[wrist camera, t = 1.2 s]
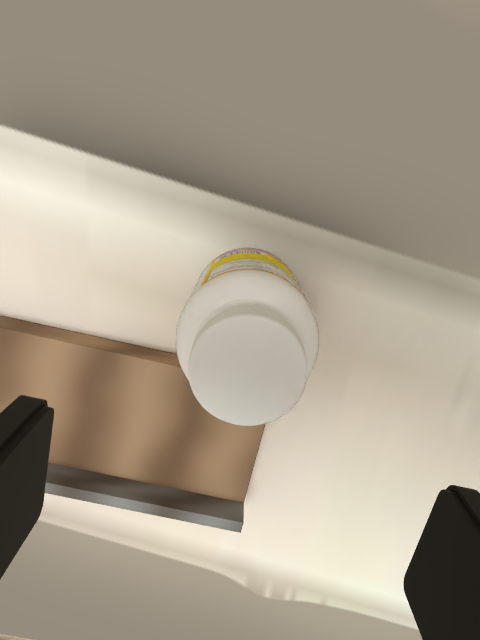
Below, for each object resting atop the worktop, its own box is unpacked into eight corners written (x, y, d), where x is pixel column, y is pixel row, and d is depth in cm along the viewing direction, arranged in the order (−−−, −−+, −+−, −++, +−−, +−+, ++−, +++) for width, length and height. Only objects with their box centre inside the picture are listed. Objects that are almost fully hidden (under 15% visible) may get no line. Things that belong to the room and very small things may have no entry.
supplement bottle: (253, 363, 31) (256, 479, 19) (176, 303, 30) (126, 384, 18) (319, 290, 30) (369, 363, 17) (240, 224, 29) (234, 252, 16)
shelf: (273, 375, 31) (276, 401, 28) (240, 495, 34) (239, 534, 30) (-48, 305, 30) (-91, 322, 27) (-55, 434, 33) (-94, 467, 29)
